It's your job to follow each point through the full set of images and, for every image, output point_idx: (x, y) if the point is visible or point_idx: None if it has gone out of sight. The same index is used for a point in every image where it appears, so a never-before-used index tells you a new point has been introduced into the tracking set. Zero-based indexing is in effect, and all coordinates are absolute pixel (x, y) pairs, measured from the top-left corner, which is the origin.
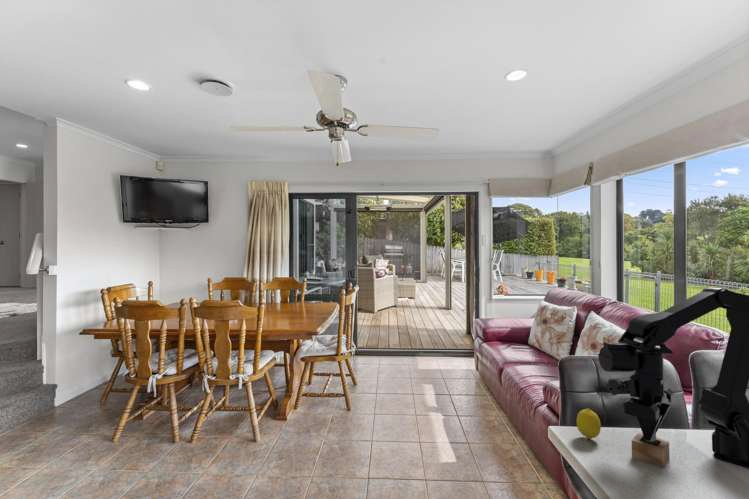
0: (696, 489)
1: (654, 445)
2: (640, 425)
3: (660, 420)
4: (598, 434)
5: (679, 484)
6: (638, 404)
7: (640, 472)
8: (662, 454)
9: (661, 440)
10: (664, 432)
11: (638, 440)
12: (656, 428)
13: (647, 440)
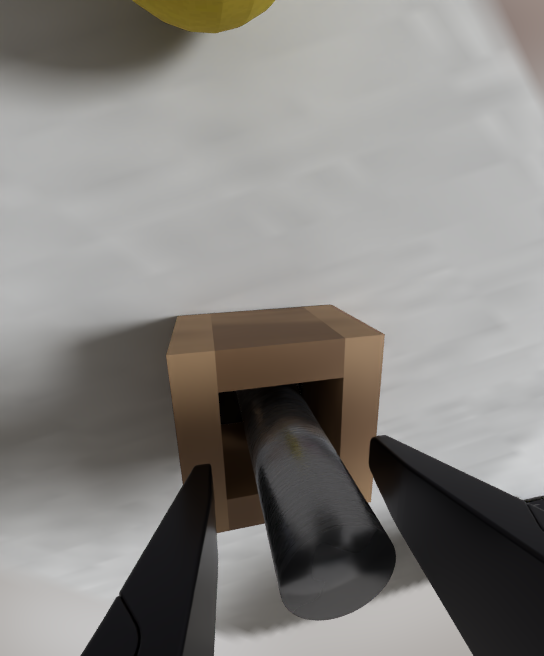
0: (112, 583)
1: (225, 483)
2: (112, 609)
3: (473, 640)
4: (193, 31)
5: (88, 542)
6: None
7: (20, 411)
8: None
9: (351, 474)
10: None
11: (214, 390)
12: (397, 520)
13: (252, 442)
